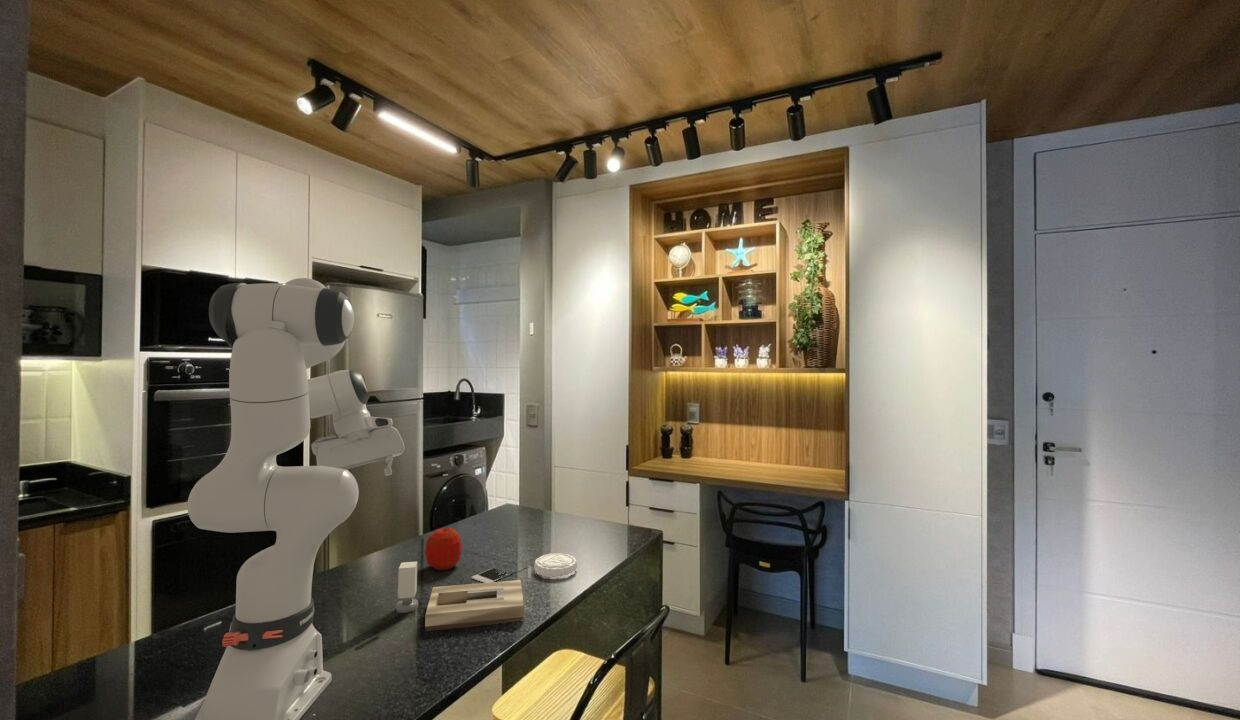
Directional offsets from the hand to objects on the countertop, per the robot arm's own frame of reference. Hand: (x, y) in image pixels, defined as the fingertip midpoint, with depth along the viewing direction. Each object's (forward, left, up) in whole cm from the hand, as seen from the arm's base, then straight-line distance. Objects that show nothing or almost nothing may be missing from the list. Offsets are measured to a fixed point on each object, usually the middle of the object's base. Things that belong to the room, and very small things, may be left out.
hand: (369, 480), depth 127 cm
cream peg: (-10, -11, -28) cm, 32 cm away
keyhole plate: (-15, -27, -28) cm, 42 cm away
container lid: (+5, -48, -29) cm, 56 cm away
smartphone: (+7, -33, -29) cm, 45 cm away
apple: (+14, -17, -29) cm, 36 cm away
